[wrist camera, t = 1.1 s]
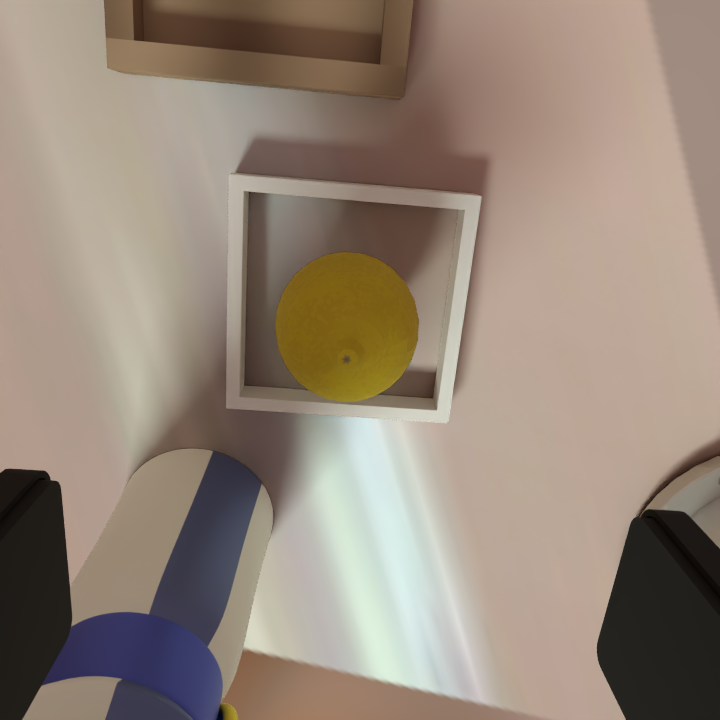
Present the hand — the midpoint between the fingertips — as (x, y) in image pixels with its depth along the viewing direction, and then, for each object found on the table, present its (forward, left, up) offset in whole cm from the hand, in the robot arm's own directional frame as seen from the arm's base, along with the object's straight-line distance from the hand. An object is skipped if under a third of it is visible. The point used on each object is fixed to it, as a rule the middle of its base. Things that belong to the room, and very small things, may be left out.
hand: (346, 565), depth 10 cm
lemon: (0, 0, -19) cm, 19 cm away
